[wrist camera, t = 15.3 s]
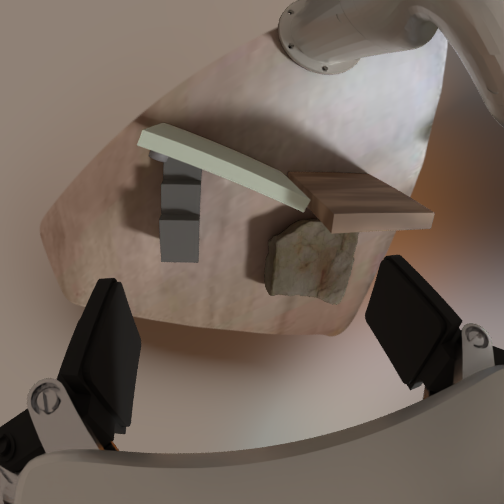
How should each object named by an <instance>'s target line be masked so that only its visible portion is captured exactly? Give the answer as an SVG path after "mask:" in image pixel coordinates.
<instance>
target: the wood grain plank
mask: <svg viewBox="0 0 504 504" xmlns="http://www.w3.org/2000/svg"><path fill="white" fill-rule="evenodd" d="M288 178H289V179H290V180H291V181H292V182H293V183H294V184H295V185H296V186H297V187H298V188H299V189H300V190H301V191H302V192H303V193H304V194H305V195H306V196H307V197H308V198H309V199H310V202H309V204H308V206H307V207H308V208H309V209H310V210H311V211H312V212H313V213H314V214H315V216H316V217H317V218H318V219H319V220H320V221H321V222H322V223H323V225H324V226H325V227H326V228H327V229H328V230H329V231H330V233H331V234H333V233H351V232H370V231H391V230H409V229H410V230H412V229H431V226H432V222H433V218H434V214H435V213H434V212H432V211H431V210H429V209H428V208H426V207H425V206H423V205H421V204H420V203H418V202H417V201H415V200H413V199H412V198H410V197H408V196H407V195H405V194H403V193H402V192H400V191H398V190H397V189H395V188H393V187H391V186H390V185H388V184H386V183H384V182H383V181H381V180H379V179H377V178H375V177H373V176H371V175H370V174H362V173H340V172H288Z"/></svg>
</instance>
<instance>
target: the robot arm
mask: <svg viewBox="0 0 504 504" xmlns="http://www.w3.org/2000/svg"><path fill="white" fill-rule="evenodd" d="M288 13H290V14H291V15H289V14H288ZM438 28H439V29H440V31H441V32H442V33H443V34H444V36H445V37H446V39H447V40H448V41H449V43H450V44H451V46H452V47H453V48H454V49H455V51H456V53H457V54H458V56H459V57H460V59H461V61H462V62H463V64H464V66H465V67H466V69H467V71H468V73H469V74H470V76H471V78H472V80H473V82H474V83H475V86H476V88H477V89H478V91H479V93H480V95H481V97H482V99H483V101H484V103H485V105H486V106H487V108H488V110H489V111H490V113H491V114H492V116H493V117H494V118H495V120H496V121H497V122H498V123H499V124H500V125H501V126H503V127H504V0H298V1H296V2H294V3H292V4H291V5H290V6H289V7H287V8H286V9H285V11H284V12H283V13H282V15H281V17H280V19H279V24H278V35H279V39H280V42H281V44H282V46H283V48H284V50H285V51H286V53H287V54H288V55H289V56H290V57H291V58H292V59H293V61H295V62H296V63H297V64H299V65H300V66H301V67H303V68H305V69H307V70H309V71H312V72H315V73H319V74H324V75H333V74H339V73H343V72H346V71H348V70H349V69H351V68H353V67H354V66H355V65H356V64H357V63H358V61H359V60H360V58H363V57H369V56H374V55H380V54H386V53H393V52H400V51H407V50H413V49H417V48H419V47H422V46H423V45H425V44H426V43H428V42H429V41H430V40H431V39H432V37H433V36H434V35H435V33H436V31H437V29H438ZM288 46H290V47H291V49H289V48H288ZM322 68H324V70H322ZM365 319H366V322H367V323H368V325H369V326H370V328H371V330H372V331H373V333H374V335H375V336H376V338H377V339H378V341H379V343H380V344H381V346H382V348H383V349H384V351H385V353H386V354H387V356H388V357H389V359H390V361H391V363H392V364H393V366H394V368H395V370H396V371H397V373H398V375H399V376H400V378H401V380H402V381H403V383H404V384H407V386H408V387H409V389H410V390H412V389H414V388H417V387H419V386H421V384H422V383H424V385H425V389H424V395H423V400H421V401H419V402H417V403H415V404H412V405H411V406H408V407H406V408H403V409H401V410H398V411H396V412H394V413H391V414H388V415H386V416H383V417H380V418H377V419H375V420H372V421H369V422H366V423H363V424H360V425H357V426H354V427H351V428H347V429H345V430H341V431H337V432H333V433H330V434H326V435H322V436H318V437H314V438H310V439H305V440H301V441H296V442H291V443H286V444H280V445H274V446H268V447H262V448H255V449H246V450H238V451H227V452H213V453H183V454H181V453H180V454H179V453H178V454H166V453H165V454H164V453H139V452H125V451H119V449H118V448H117V447H116V445H115V444H114V443H113V440H114V433H118V434H125V433H126V427H129V426H130V424H131V417H132V407H133V398H134V390H135V383H136V376H137V369H138V362H139V356H140V350H141V338H140V336H139V333H138V330H137V327H136V325H135V322H134V319H133V316H132V313H131V310H130V307H129V304H128V301H127V298H126V295H125V292H124V289H123V286H122V283H121V282H117V280H116V279H115V278H105V279H99V280H98V281H97V283H96V286H95V288H94V290H93V292H92V294H91V296H90V298H89V300H88V303H87V305H86V307H85V310H84V312H83V314H82V316H81V318H80V320H79V321H78V324H77V326H76V328H75V331H74V333H73V336H72V338H71V341H70V344H69V346H68V349H67V352H66V354H65V357H64V360H63V362H62V365H61V368H60V371H59V374H58V377H57V380H56V379H52V378H46V379H43V380H40V381H38V382H37V383H36V384H34V385H33V387H32V388H31V389H30V391H29V394H28V397H27V406H28V409H26V410H25V411H23V412H22V413H20V414H19V415H17V416H16V417H14V418H13V419H11V420H10V421H9V422H7V423H6V424H4V425H3V426H1V427H0V504H504V350H502V349H500V348H497V347H494V346H492V341H491V338H490V335H489V334H488V332H487V331H486V330H485V329H484V328H482V327H481V326H479V325H477V324H473V323H469V324H466V325H464V327H463V328H462V330H460V329H459V326H460V325H461V323H462V320H461V319H460V317H459V316H458V315H457V314H456V313H455V312H454V310H453V309H452V308H451V307H450V306H449V305H448V304H447V303H446V301H445V300H444V299H443V298H442V297H441V296H440V295H439V294H438V293H437V292H436V291H435V290H434V289H433V287H432V286H431V285H430V284H429V283H428V282H427V281H426V280H425V279H424V278H423V277H422V276H421V275H420V274H419V273H418V272H417V271H416V270H415V269H414V268H413V267H412V266H411V265H410V264H409V263H408V262H407V261H406V260H405V259H404V258H403V257H402V256H400V255H391V256H386V257H385V258H384V260H382V261H381V263H380V267H379V270H378V274H377V277H376V281H375V285H374V288H373V291H372V294H371V298H370V301H369V304H368V307H367V310H366V313H365Z"/></svg>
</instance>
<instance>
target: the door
mask: <svg viewBox="0 0 504 504" xmlns="http://www.w3.org/2000/svg"><path fill="white" fill-rule="evenodd" d="M137 145H138V146H141V147H144V148H147V149H149V150H150V153H149V157H151V158H152V159H155V160H157V161H161V162H167V159H168V157H171V158H174V159H177V160H180V161H182V162H185V163H187V164H190V165H193V166H195V167H198V168H200V169H203V170H205V171H208V172H211V173H213V174H216V175H218V176H220V177H223V178H225V179H228V180H230V181H233V182H235V183H238V184H240V185H242V186H245V187H247V188H249V189H252V190H254V191H256V192H259V193H261V194H263V195H266V196H268V197H270V198H272V199H275V200H277V201H279V202H281V203H284V204H286V205H288V206H290V207H292V208H295V209H297V210H299V211H301V212H303V213H304V211H305V209H306V207H307V206H308V204H309V202H310V199H309V198H308V197H307V196H306V195H305V194H304V193H303V192H302V191H301V190H300V189H299V188H298V187H297V186H296V185H295V184H294V183H293V182H292V181H291V180H290V179H289V178H287V177H286V176H285V175H284V174H283V173H282V172H281V171H279V170H277V169H274V168H272V167H270V166H268V165H266V164H264V163H262V162H259V161H257V160H255V159H253V158H251V157H248V156H246V155H244V154H242V153H239V152H237V151H235V150H232V149H230V148H228V147H225V146H223V145H221V144H218V143H216V142H213V141H211V140H208V139H206V138H203V137H201V136H198V135H196V134H193V133H191V132H188V131H185V130H183V129H180V128H177V127H175V126H172V125H169V124H166V123H164V122H163V123H160V124H158V125H155V126H152V127H149V128H147V129H144V130H143V131H142V133H141V136H140V139H139V141H138V144H137Z"/></svg>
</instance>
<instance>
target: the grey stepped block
mask: <svg viewBox="0 0 504 504" xmlns="http://www.w3.org/2000/svg"><path fill="white" fill-rule="evenodd" d="M201 175H202V169H200V168H198V167H195V166H193V165H190V164H187V163H185V162H182V161H180V160H177V159H174V158H171V157H168V159H167V162H164V171H163V182H162V184H161V217H160V219H159V229H160V249H161V262H193V263H198V259H199V223H200V195H201Z"/></svg>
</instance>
